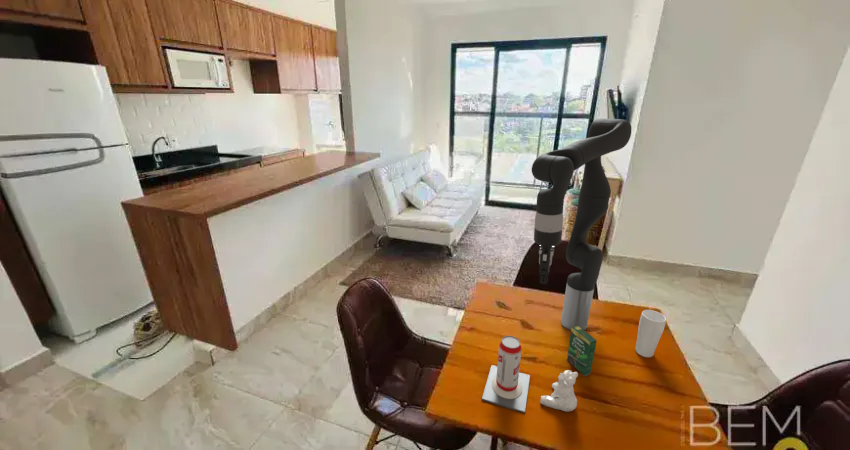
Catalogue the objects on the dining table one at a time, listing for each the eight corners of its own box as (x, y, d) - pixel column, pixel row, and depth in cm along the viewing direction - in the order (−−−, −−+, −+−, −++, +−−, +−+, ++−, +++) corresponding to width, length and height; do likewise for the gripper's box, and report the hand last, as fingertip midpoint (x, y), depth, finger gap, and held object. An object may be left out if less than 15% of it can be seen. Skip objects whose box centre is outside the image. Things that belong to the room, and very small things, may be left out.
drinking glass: (659, 361, 110) (670, 323, 105) (636, 358, 111) (646, 320, 106) (650, 347, 116) (660, 310, 111) (629, 344, 117) (638, 308, 112)
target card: (491, 366, 108) (491, 364, 108) (529, 376, 104) (530, 374, 104) (481, 400, 96) (482, 397, 96) (524, 413, 92) (525, 411, 92)
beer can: (518, 380, 102) (523, 337, 96) (516, 396, 96) (521, 351, 91) (497, 374, 104) (501, 332, 98) (494, 390, 98) (498, 346, 93)
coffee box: (565, 359, 111) (571, 326, 106) (572, 357, 112) (578, 324, 107) (583, 376, 104) (590, 342, 99) (590, 374, 105) (597, 340, 100)
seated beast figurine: (554, 384, 101) (559, 352, 97) (582, 402, 95) (589, 369, 91) (538, 402, 95) (542, 369, 91) (567, 422, 89) (573, 388, 85)
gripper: (561, 237, 88) (556, 290, 93) (563, 219, 100) (559, 267, 105) (531, 234, 90) (528, 286, 96) (537, 217, 103) (534, 264, 108)
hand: (544, 276), depth 101 cm, fingers open, 8 cm apart
